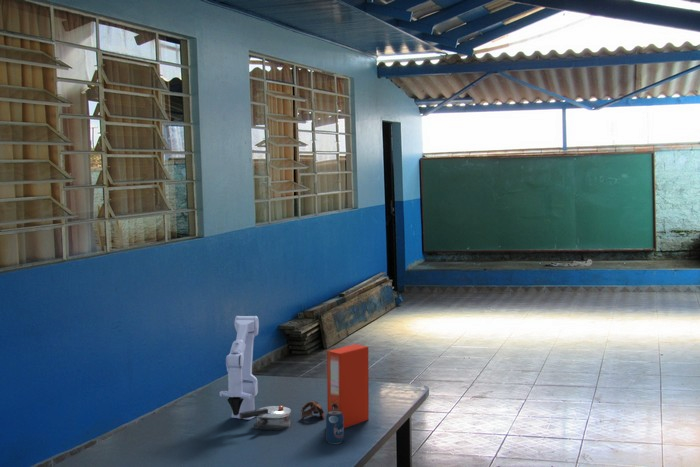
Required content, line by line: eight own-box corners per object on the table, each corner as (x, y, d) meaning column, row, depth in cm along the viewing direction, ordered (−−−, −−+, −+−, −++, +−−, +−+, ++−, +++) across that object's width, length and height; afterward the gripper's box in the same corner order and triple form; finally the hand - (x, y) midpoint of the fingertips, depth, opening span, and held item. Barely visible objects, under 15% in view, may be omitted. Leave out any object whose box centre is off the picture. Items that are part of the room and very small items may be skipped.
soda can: (337, 445, 328) (337, 415, 327) (323, 442, 332) (322, 413, 331) (347, 440, 334) (346, 411, 333) (332, 437, 338) (332, 408, 337)
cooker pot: (271, 416, 366) (270, 405, 366) (299, 420, 361) (299, 409, 360) (241, 433, 344) (241, 421, 344) (271, 437, 338) (270, 425, 338)
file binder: (369, 419, 360) (368, 346, 358) (341, 429, 348) (340, 353, 345) (355, 416, 366) (354, 343, 363) (327, 425, 353) (326, 350, 350)
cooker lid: (281, 406, 364) (281, 400, 364) (297, 414, 352) (296, 409, 351) (233, 414, 353) (233, 409, 353) (247, 424, 340) (247, 418, 340)
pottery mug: (325, 422, 359) (316, 407, 357) (306, 431, 361) (297, 416, 359) (328, 407, 370) (318, 393, 368) (309, 416, 372) (300, 401, 370)
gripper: (215, 383, 347) (215, 415, 348) (245, 386, 341) (246, 419, 342) (224, 379, 353) (225, 410, 354) (254, 382, 347) (254, 414, 348)
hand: (236, 414), depth 349 cm, fingers closed
